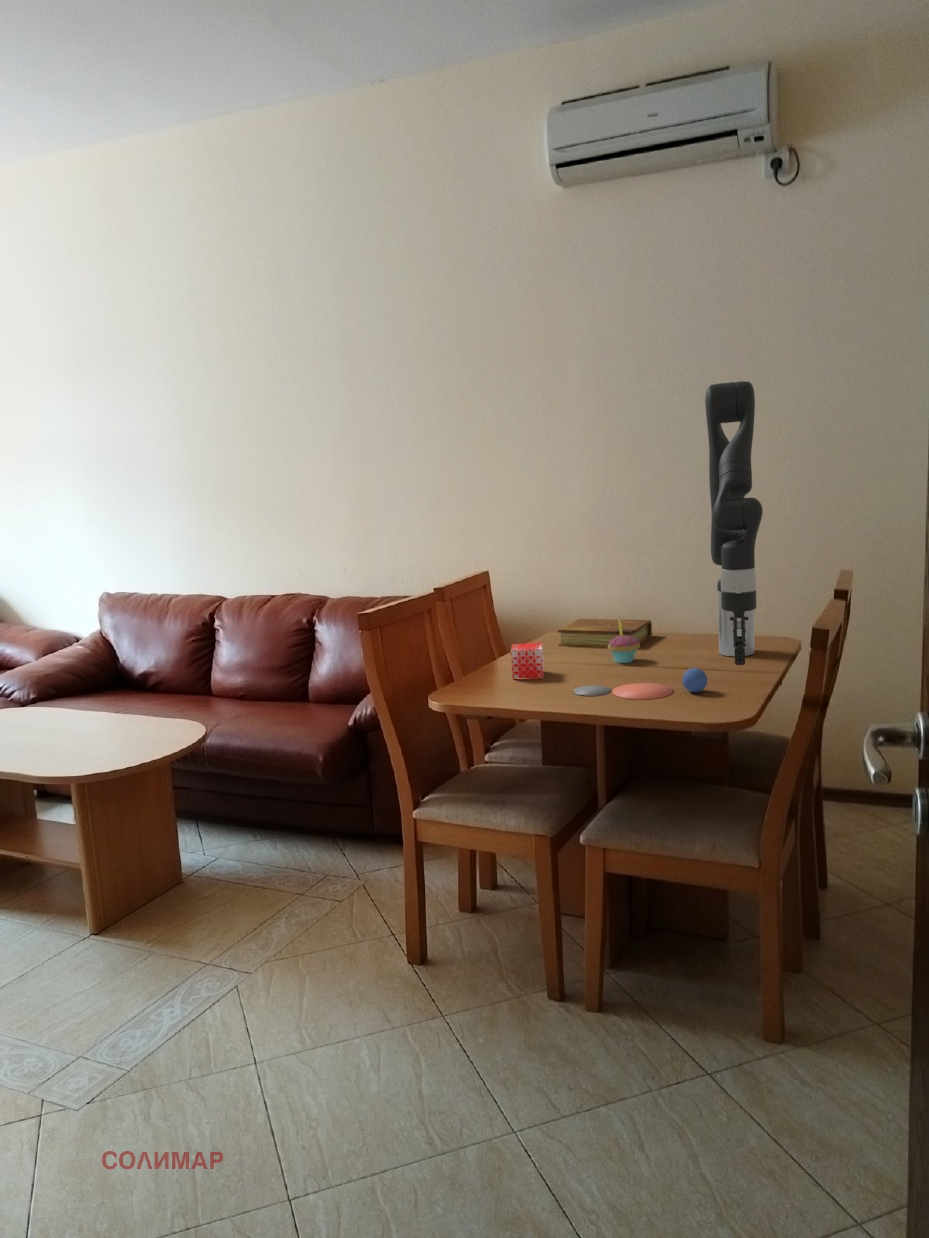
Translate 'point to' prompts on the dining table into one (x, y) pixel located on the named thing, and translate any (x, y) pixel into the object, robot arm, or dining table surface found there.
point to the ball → (694, 680)
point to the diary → (602, 632)
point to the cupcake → (623, 647)
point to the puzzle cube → (527, 660)
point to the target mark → (642, 691)
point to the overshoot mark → (592, 690)
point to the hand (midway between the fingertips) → (739, 664)
